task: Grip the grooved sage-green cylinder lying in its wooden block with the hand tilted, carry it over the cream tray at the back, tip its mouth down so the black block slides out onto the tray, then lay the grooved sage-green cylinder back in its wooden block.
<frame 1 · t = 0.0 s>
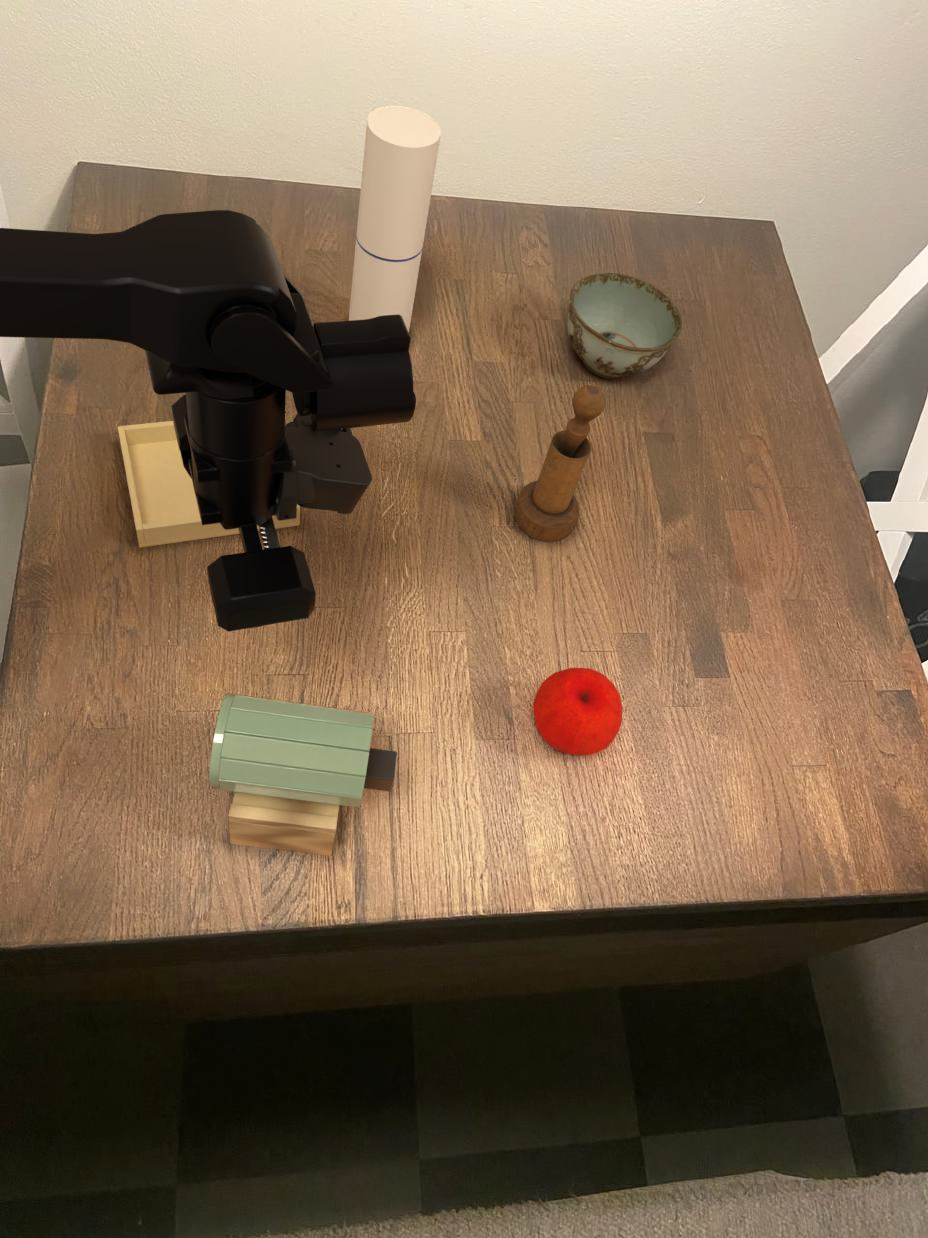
hand: (242, 574, 69), 15 cm above the table, tool pointing down, fingers open, 9 cm apart
mortar and pestle: (543, 518, 97), on the table
apple: (566, 731, 84), on the table
bowl: (605, 363, 113), on the table
wooden block: (291, 793, 75), on the table
tray: (209, 485, 91), on the table
grooved sage-green cylinder: (293, 749, 68), point 8 cm above the table, touching black block, wooden block
black block: (355, 766, 70), point 7 cm above the table, touching grooved sage-green cylinder
cylindrical container: (377, 335, 108), on the table
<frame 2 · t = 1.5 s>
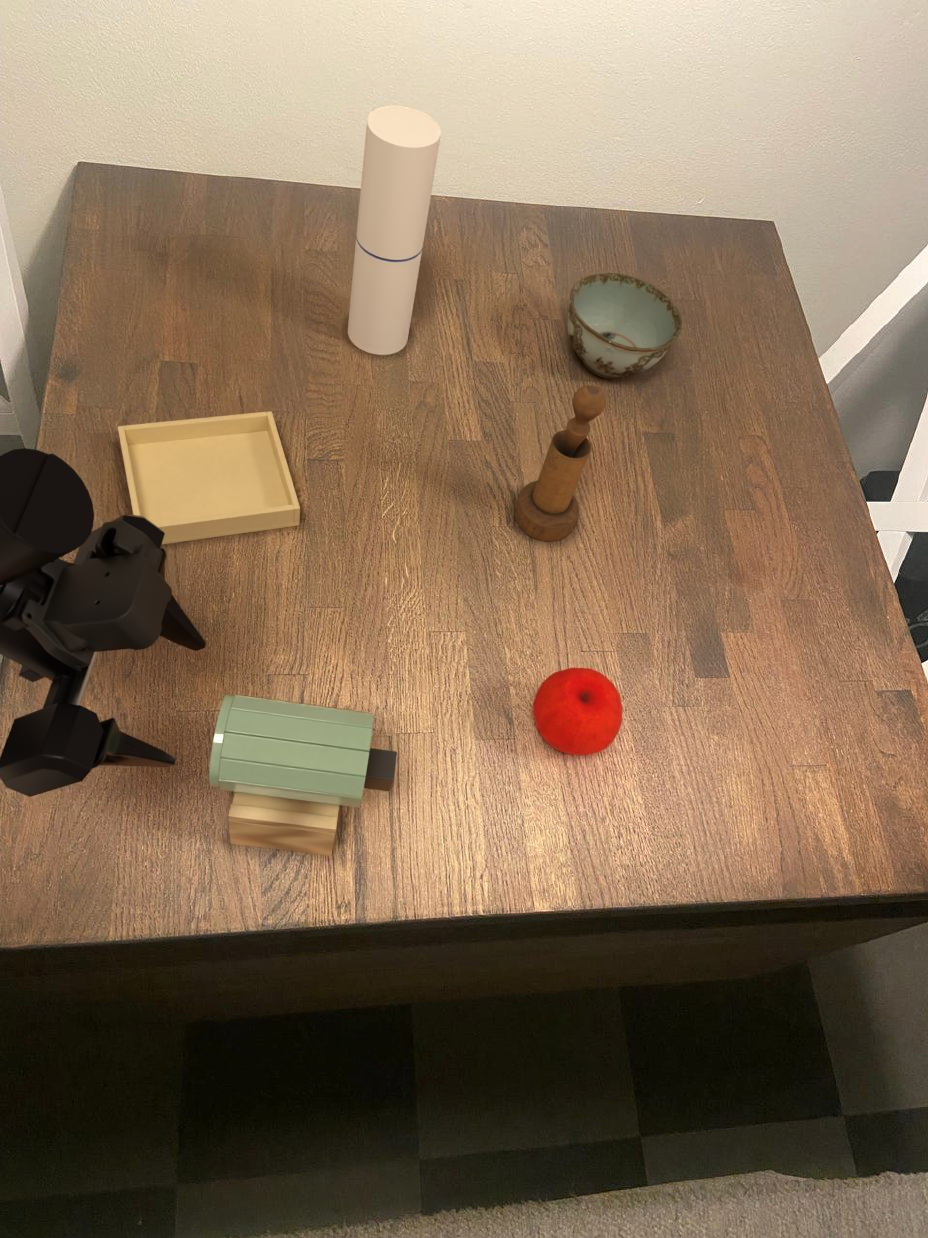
hand: (187, 703, 64), 13 cm above the table, tool tilted 45°, fingers open, 9 cm apart
nothing on the table moved.
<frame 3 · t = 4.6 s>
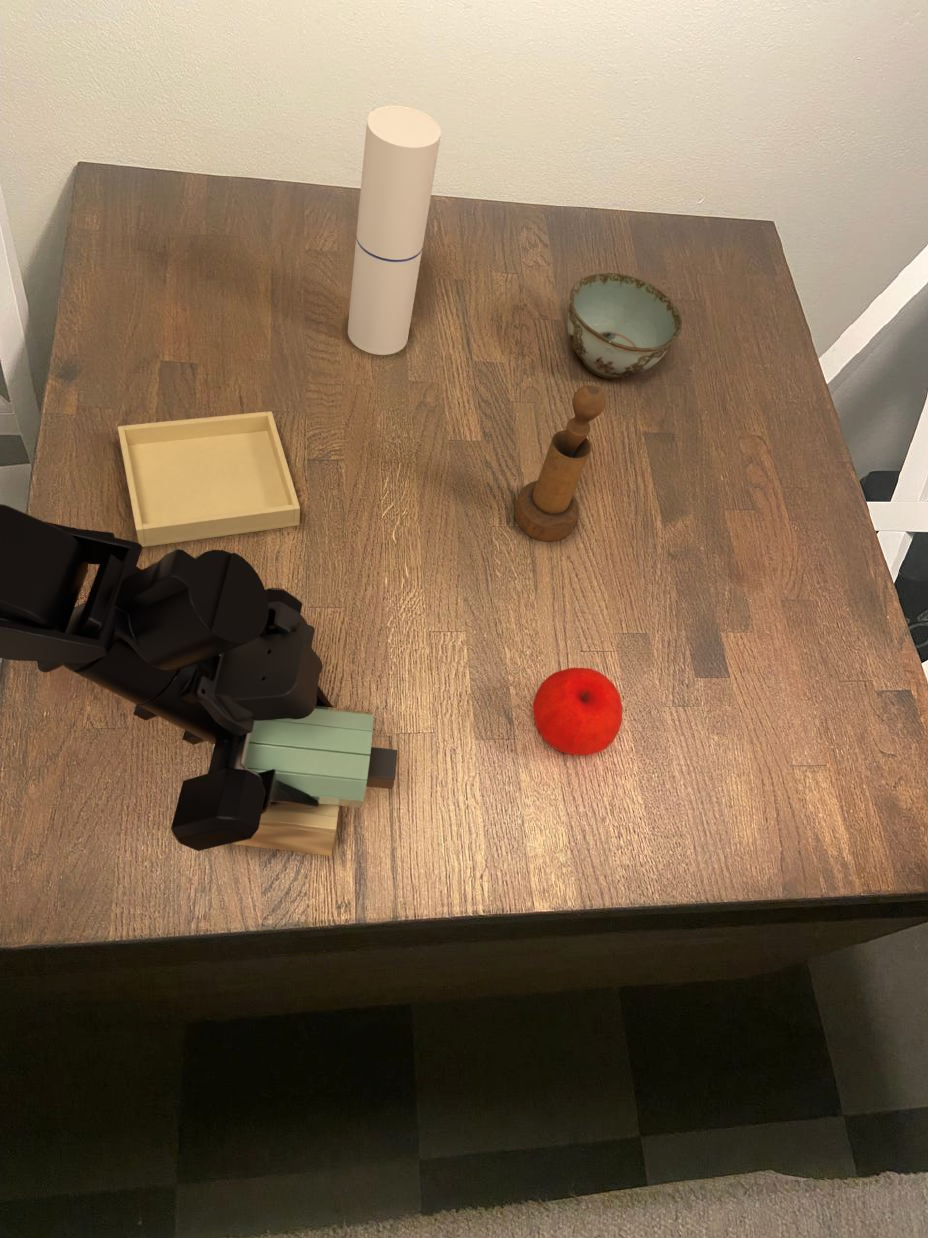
hand: (322, 758, 69), 8 cm above the table, tool tilted 45°, fingers closed on grooved sage-green cylinder, 7 cm apart
grooved sage-green cylinder: (294, 751, 68), point 9 cm above the table, touching black block, wooden block, gripper
everything else where it was.
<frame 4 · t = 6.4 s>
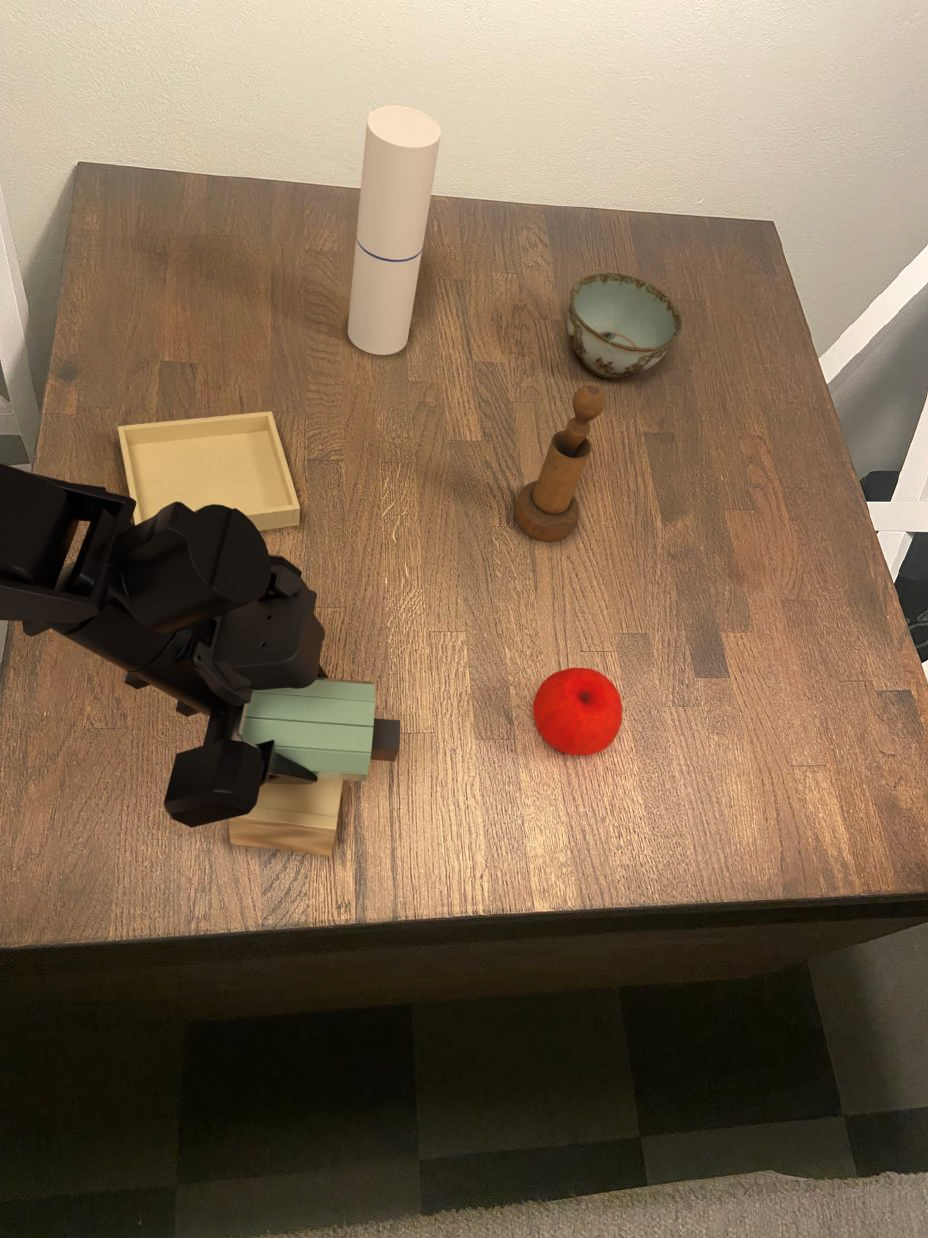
hand: (320, 733, 66), 11 cm above the table, tool tilted 45°, fingers closed on grooved sage-green cylinder, 7 cm apart
grooved sage-green cylinder: (292, 725, 65), point 12 cm above the table, tilted 6°, touching black block, gripper
black block: (357, 738, 68), point 11 cm above the table, touching grooved sage-green cylinder
everything else where it was.
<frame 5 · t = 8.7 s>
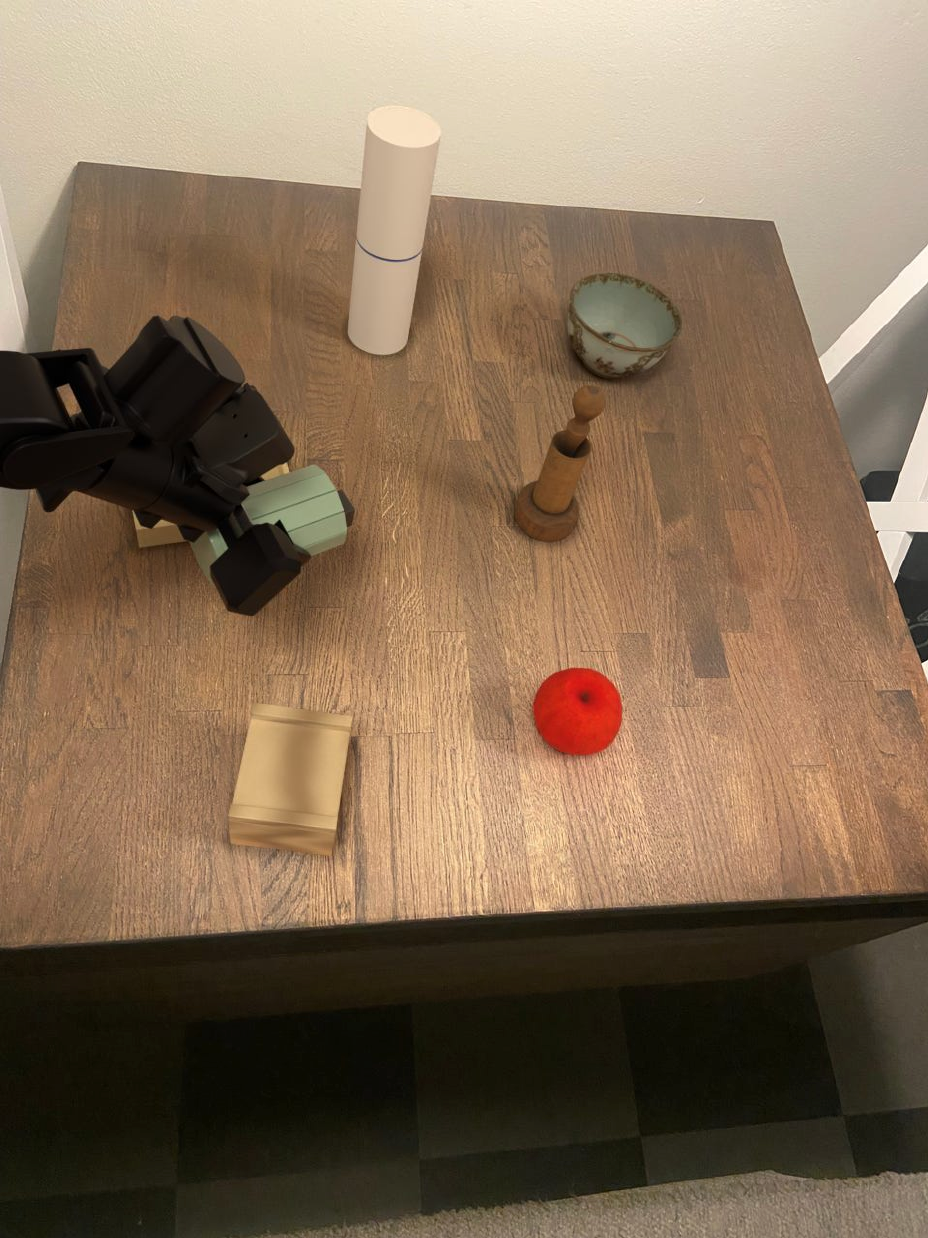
hand: (288, 525, 76), 11 cm above the table, tool tilted 45°, fingers closed on grooved sage-green cylinder, 7 cm apart
grooved sage-green cylinder: (266, 526, 75), point 12 cm above the table, tilted 6°, touching black block, gripper
black block: (316, 518, 78), point 11 cm above the table, touching grooved sage-green cylinder
everything else where it was.
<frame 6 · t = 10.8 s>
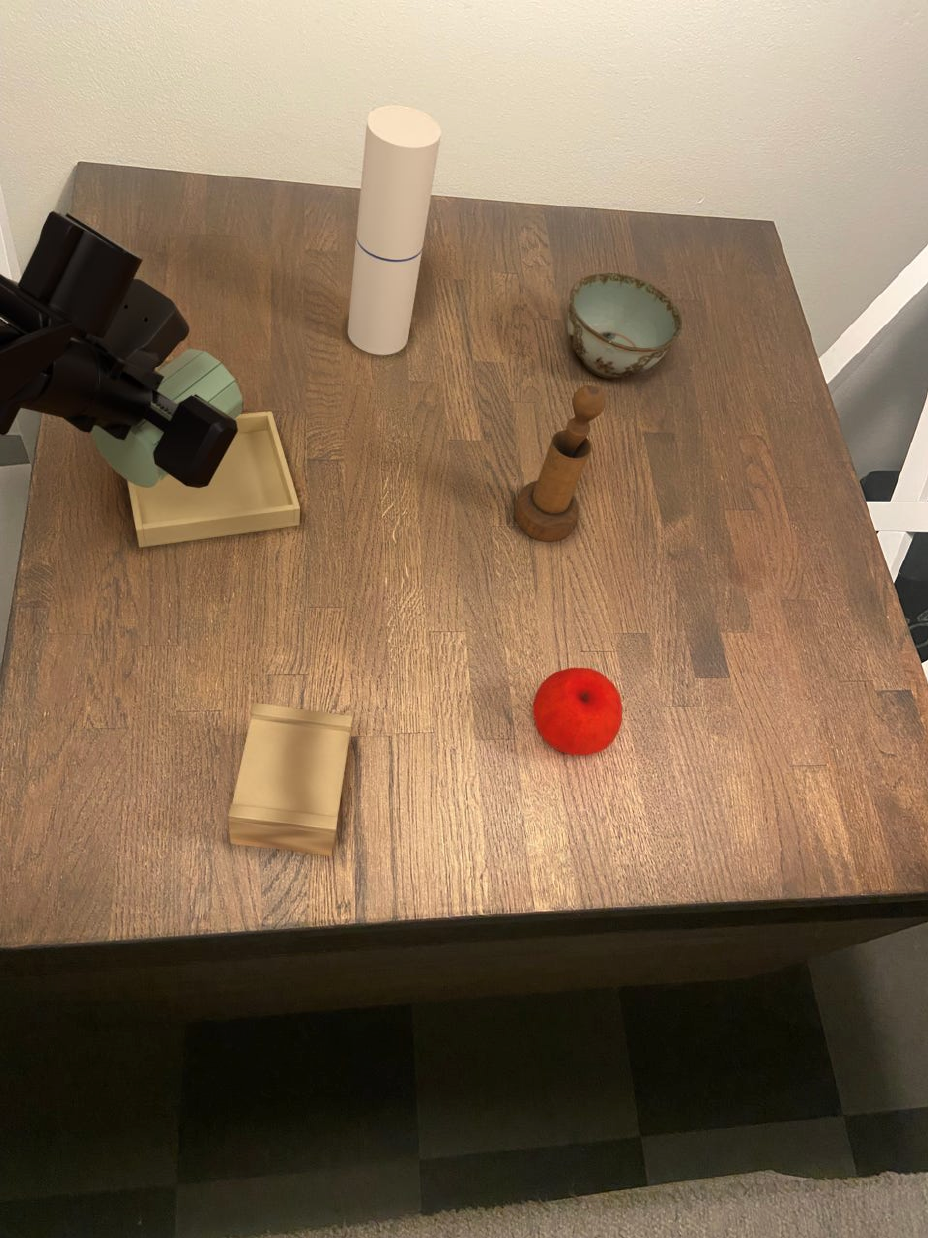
hand: (185, 413, 81), 11 cm above the table, tool tilted 45°, fingers closed on grooved sage-green cylinder, 7 cm apart
grooved sage-green cylinder: (169, 417, 79), point 12 cm above the table, tilted 6°, touching black block, gripper
black block: (205, 401, 83), point 11 cm above the table, touching grooved sage-green cylinder
everything else where it was.
when the fingers open (8 cm above the table, at t = 21.9 s): grooved sage-green cylinder stays where it is, resting on wooden block.
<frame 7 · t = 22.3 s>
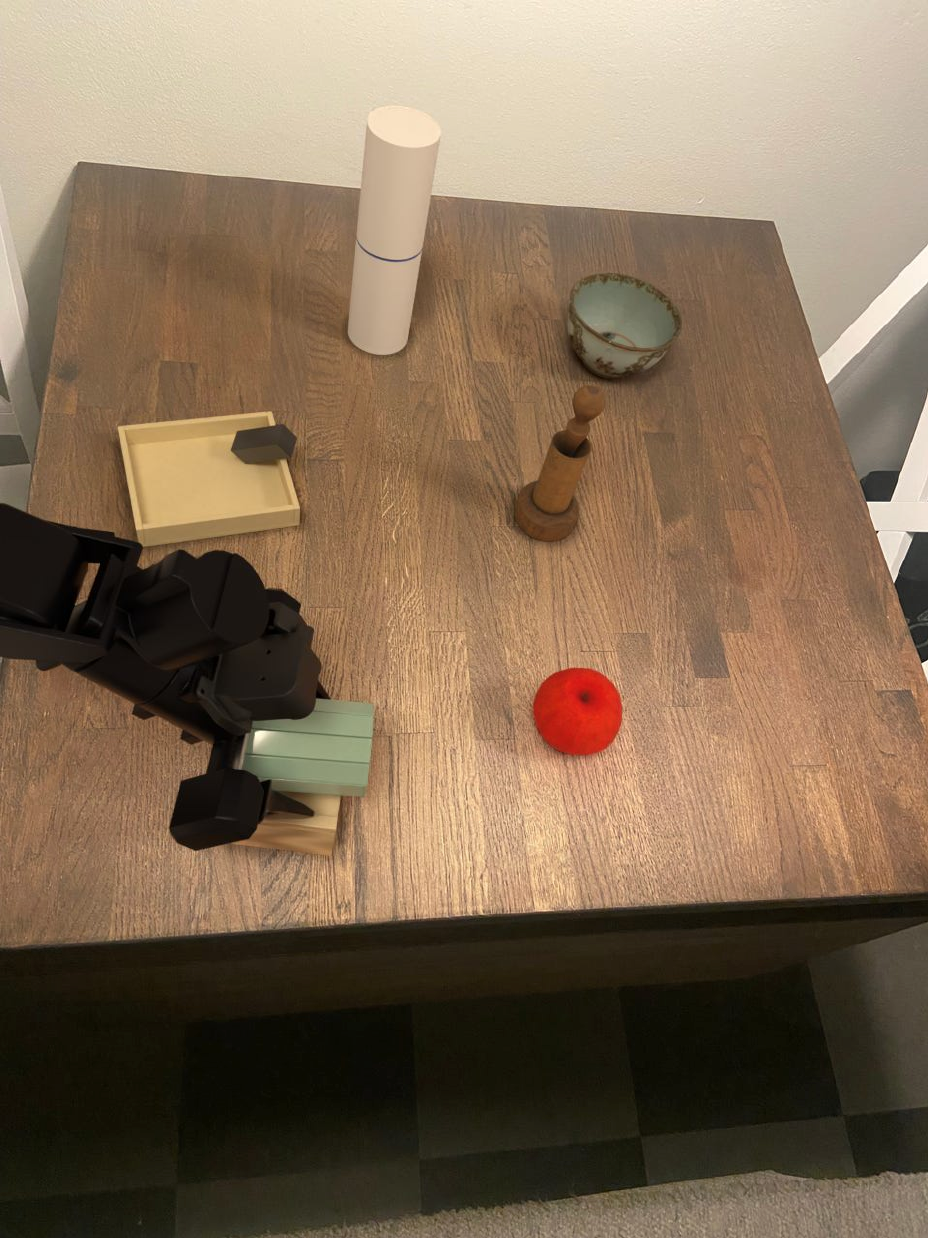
hand: (319, 758, 69), 8 cm above the table, tool tilted 45°, fingers open, 9 cm apart
grooved sage-green cylinder: (295, 743, 69), point 9 cm above the table, touching wooden block, gripper
black block: (263, 444, 91), point 3 cm above the table, tilted 78°, touching tray
everything else where it was.
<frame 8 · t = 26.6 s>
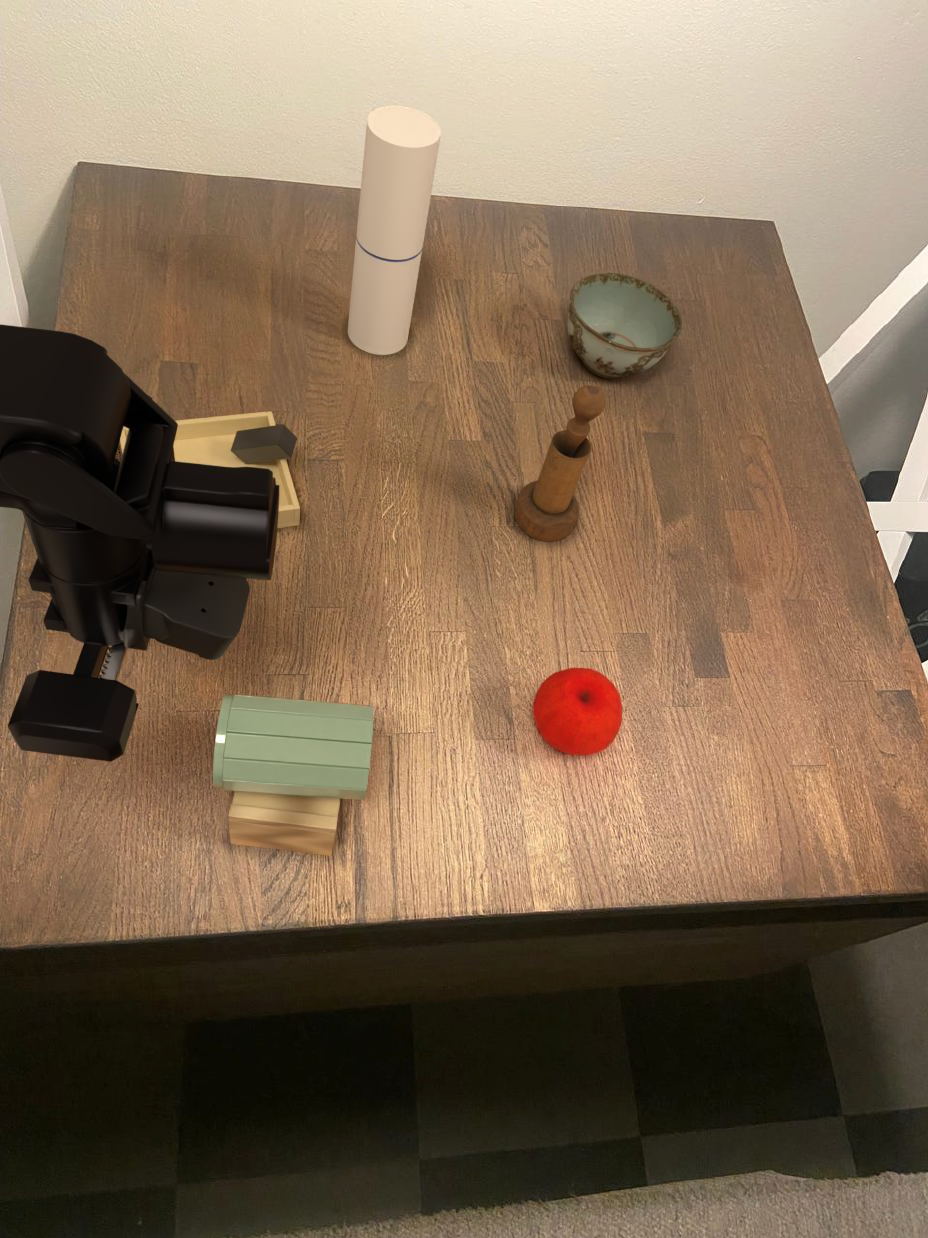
hand: (125, 679, 64), 13 cm above the table, tool pointing down, fingers open, 9 cm apart
grooved sage-green cylinder: (295, 746, 69), point 8 cm above the table, touching wooden block
everything else where it was.
at the end: black block inside the target area in the tray (5.9 cm from its centre), point 3.4 cm above the tray's base; black block touching tray; grooved sage-green cylinder 0.4 cm off-centre on the wooden block, point 8.5 cm above the wooden block's base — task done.
